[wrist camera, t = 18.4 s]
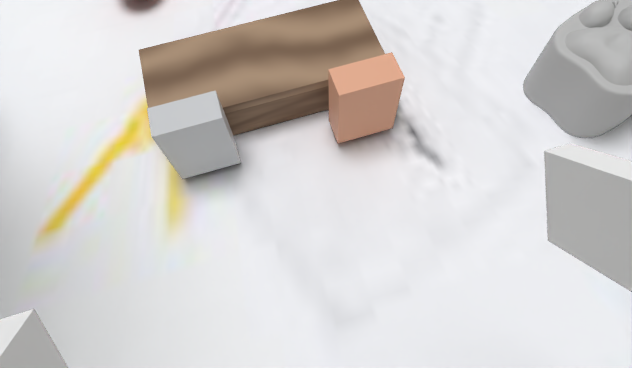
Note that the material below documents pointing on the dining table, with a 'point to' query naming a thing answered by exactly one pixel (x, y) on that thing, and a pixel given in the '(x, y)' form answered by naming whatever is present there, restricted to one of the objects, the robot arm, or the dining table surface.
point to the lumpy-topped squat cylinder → (586, 70)
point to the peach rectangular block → (364, 96)
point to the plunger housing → (263, 63)
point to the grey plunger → (194, 134)
